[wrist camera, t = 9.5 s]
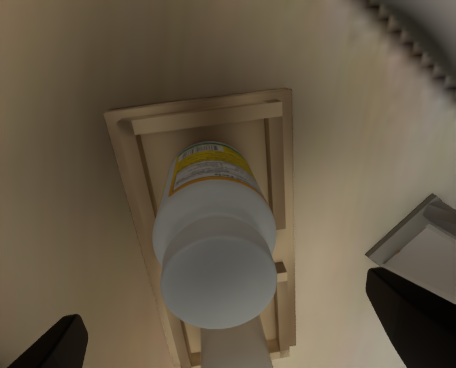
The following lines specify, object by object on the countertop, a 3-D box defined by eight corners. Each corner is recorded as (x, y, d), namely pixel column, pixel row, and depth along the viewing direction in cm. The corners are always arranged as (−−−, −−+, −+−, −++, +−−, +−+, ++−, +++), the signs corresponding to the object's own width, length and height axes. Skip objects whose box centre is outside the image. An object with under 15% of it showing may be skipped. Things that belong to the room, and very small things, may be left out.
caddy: (174, 353, 26) (172, 380, 24) (108, 109, 17) (96, 116, 15) (291, 333, 26) (300, 358, 24) (286, 88, 18) (298, 91, 15)
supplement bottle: (198, 121, 17) (200, 183, 8) (266, 169, 18) (331, 265, 10) (151, 190, 18) (107, 308, 9) (218, 229, 20) (236, 361, 11)
